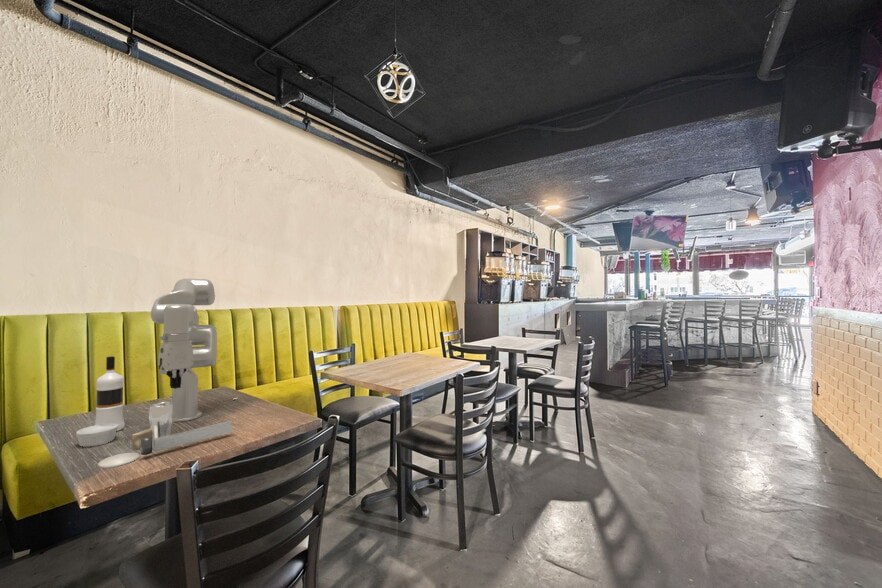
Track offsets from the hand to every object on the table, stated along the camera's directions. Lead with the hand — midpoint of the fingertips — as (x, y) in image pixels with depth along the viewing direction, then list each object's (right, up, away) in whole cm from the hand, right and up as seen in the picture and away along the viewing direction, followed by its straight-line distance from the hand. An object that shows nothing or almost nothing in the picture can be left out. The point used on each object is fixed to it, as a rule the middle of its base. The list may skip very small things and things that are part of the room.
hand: (175, 387), depth 134 cm
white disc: (-8, -20, -15) cm, 26 cm away
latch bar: (+7, -19, -3) cm, 20 cm away
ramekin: (-30, -21, +1) cm, 36 cm away
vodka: (-36, -21, +13) cm, 43 cm away
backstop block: (-9, -21, -1) cm, 22 cm away
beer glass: (-4, -21, -2) cm, 21 cm away
